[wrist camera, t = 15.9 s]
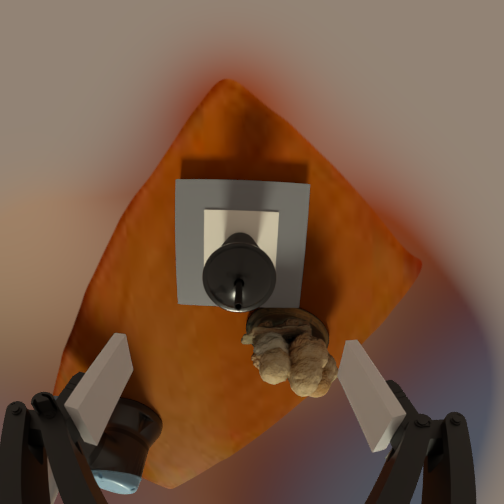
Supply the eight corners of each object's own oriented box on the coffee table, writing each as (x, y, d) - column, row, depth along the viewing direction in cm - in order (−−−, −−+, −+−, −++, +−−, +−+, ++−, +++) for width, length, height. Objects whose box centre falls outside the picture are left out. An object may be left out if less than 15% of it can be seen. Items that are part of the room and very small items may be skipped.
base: (181, 296, 46) (177, 304, 43) (180, 179, 41) (175, 179, 38) (295, 300, 47) (299, 308, 44) (305, 184, 42) (310, 184, 39)
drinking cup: (274, 256, 42) (301, 319, 22) (232, 280, 42) (224, 358, 23) (249, 213, 40) (254, 243, 21) (205, 239, 41) (173, 291, 21)
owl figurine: (228, 339, 49) (224, 403, 33) (258, 288, 47) (266, 341, 30) (308, 370, 52) (328, 430, 35) (341, 325, 49) (376, 379, 33)
